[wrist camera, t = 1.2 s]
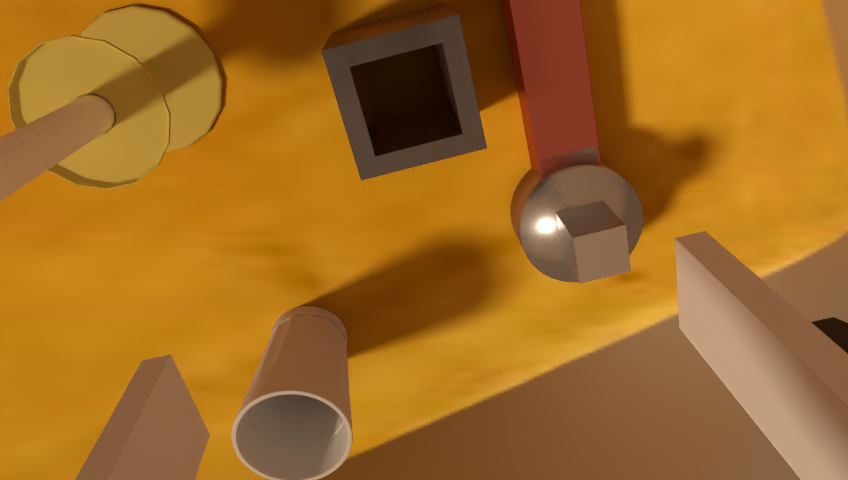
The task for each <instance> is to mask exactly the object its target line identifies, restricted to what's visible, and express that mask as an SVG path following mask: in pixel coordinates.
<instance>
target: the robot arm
mask: <svg viewBox="0 0 848 480" xmlns="http://www.w3.org/2000/svg"><path fill="white" fill-rule="evenodd" d="M675 249H676V268H677V287H678V306H679V324H680V329H681V331H682V332H683V333H684V334H685V335H686V337H687V338H688V339H689V340H690V342H691V343H692V344H693V345H694V347H695V348H696V349H697V350H698V352H699V353H700V354H701V355H702V357H703V358H704V359H705V360H706V362H707V363H708V364H709V365H710V367H711V368H712V369H713V370H714V372H715V373H716V374H717V375H718V377H719V378H720V379H721V380H722V382H723V383H724V384H725V385H726V387H727V388H728V389H729V390H730V391H731V393H732V394H733V395H734V397H735V398H736V399H737V400H738V402H739V403H740V404H741V405H742V407H743V408H744V409H745V410H746V412H747V413H748V414H749V415H750V416H751V418H752V419H753V420H754V422H755V423H756V424H757V425H758V427H759V428H760V429H761V430H762V431H763V433H764V434H765V435H766V436H767V438H768V439H769V440H770V442H771V443H772V444H773V445H774V447H775V448H776V449H777V450H778V452H779V453H780V454H781V455H782V457H783V458H784V459H785V460H786V461H787V463H788V464H789V465H790V466H791V468H792V469H793V470H794V472H795V473H796V474H797V475H798V477H799V478H800V479H801V480H848V323H846V322H844V321H841V320H839V319H836V318H834V317H832V318H828V319H823V320H819V321H815V322H810V321H809V320H808V319H806V318H805V317H804V316H803V315H802V314H801V313H800V312H798V311H797V310H796V309H795V308H794V307H793V306H791V305H790V304H789V303H788V302H787V301H786V300H784V299H783V298H782V297H781V296H780V295H779V294H778V293H776V292H775V291H774V290H773V289H772V288H771V287H769V286H768V285H767V284H766V283H765V282H764V281H762V280H761V279H760V278H759V277H758V276H757V275H755V274H754V273H753V272H752V271H751V270H750V269H748V268H747V267H746V266H745V265H744V264H743V263H741V262H740V261H739V260H738V259H737V258H736V257H734V256H733V255H732V254H731V253H730V252H729V251H728V250H726V249H725V248H724V247H723V246H722V245H721V244H719V243H718V242H717V241H716V240H715V239H714V238H712V237H711V236H710V235H709V234H708V233H707V232H705V231H704V232H700V233H695V234H691V235H687V236H682V237H678V238H675ZM209 435H210V434H209V432H208V430H207V428H206V426H205V424H204V422H203V420H202V418H201V416H200V414H199V412H198V409H197V407H196V405H195V403H194V401H193V399H192V397H191V395H190V393H189V391H188V389H187V387H186V385H185V383H184V381H183V379H182V377H181V375H180V373H179V371H178V368H177V366H176V364H175V362H174V360H173V358H172V356H171V355H166V356H162V357H158V358H153V359H149V360H145V361H142V362H141V364H140V366H139V367H138V369H137V371H136V373H135V374H134V376H133V378H132V380H131V382H130V383H129V385H128V387H127V389H126V391H125V392H124V394H123V396H122V398H121V399H120V401H119V403H118V405H117V407H116V408H115V410H114V412H113V414H112V415H111V417H110V419H109V421H108V423H107V424H106V426H105V428H104V430H103V432H102V433H101V435H100V437H99V439H98V440H97V442H96V444H95V446H94V448H93V449H92V451H91V453H90V455H89V457H88V458H87V460H86V462H85V464H84V465H83V467H82V469H81V471H80V473H79V474H78V476H77V478H76V480H195V477H196V474H197V471H198V468H199V465H200V462H201V459H202V456H203V453H204V450H205V447H206V444H207V441H208V438H209Z"/></svg>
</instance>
